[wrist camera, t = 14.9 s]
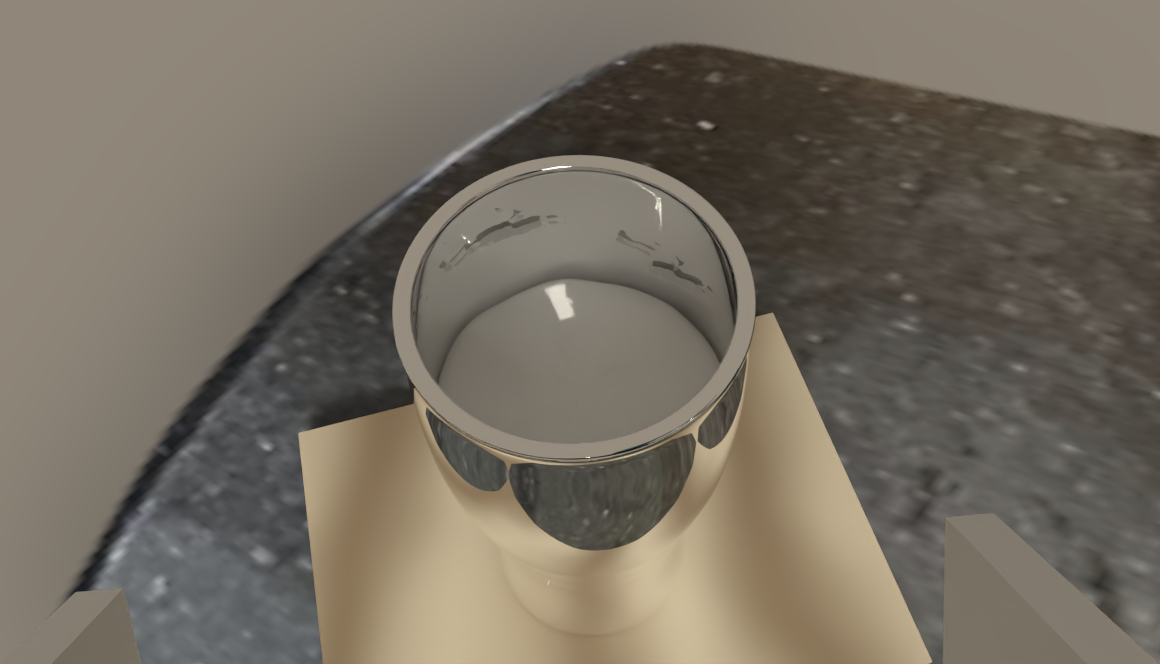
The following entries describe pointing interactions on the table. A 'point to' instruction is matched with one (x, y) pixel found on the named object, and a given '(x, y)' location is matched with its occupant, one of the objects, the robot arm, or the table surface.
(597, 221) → the beer glass
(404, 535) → the board
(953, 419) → the table surface
